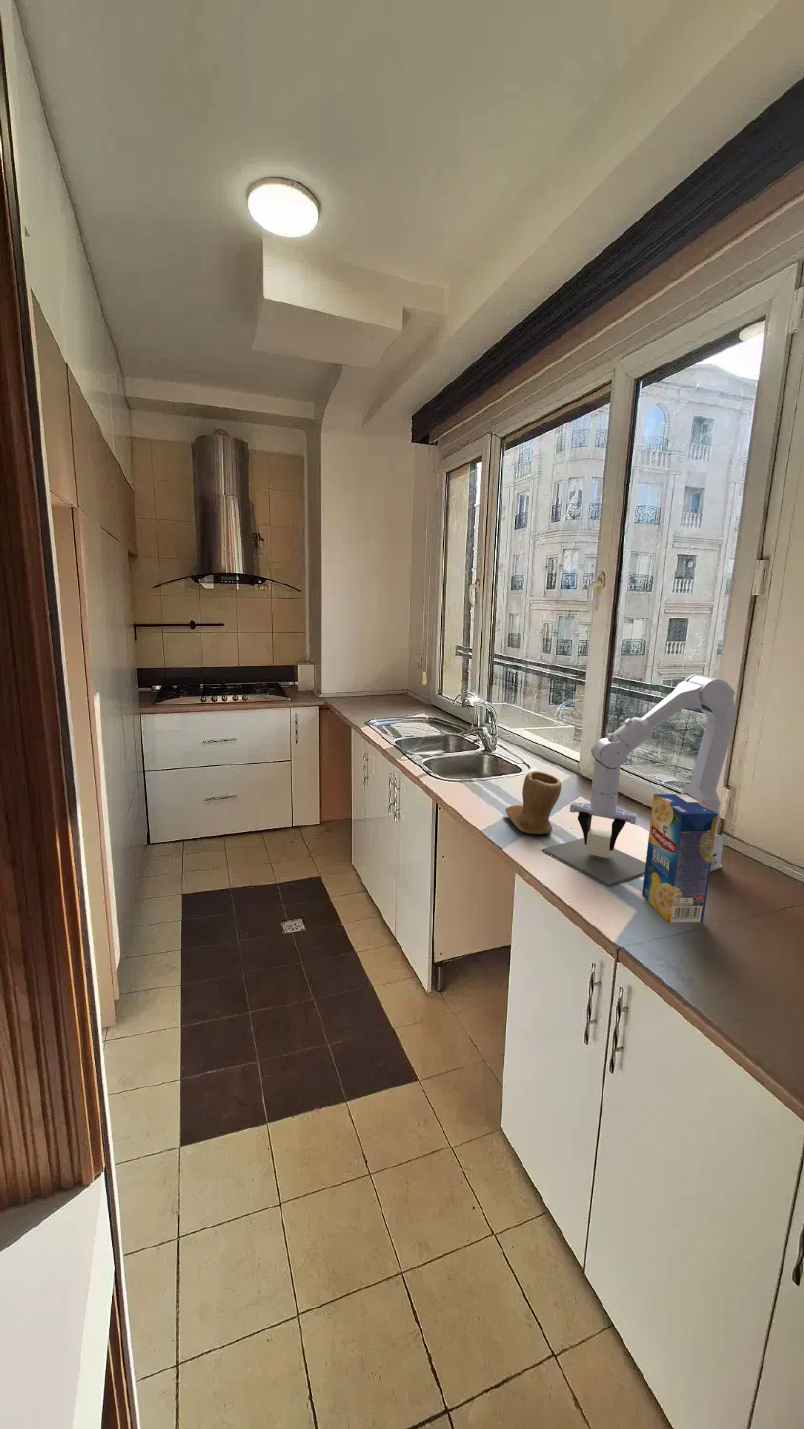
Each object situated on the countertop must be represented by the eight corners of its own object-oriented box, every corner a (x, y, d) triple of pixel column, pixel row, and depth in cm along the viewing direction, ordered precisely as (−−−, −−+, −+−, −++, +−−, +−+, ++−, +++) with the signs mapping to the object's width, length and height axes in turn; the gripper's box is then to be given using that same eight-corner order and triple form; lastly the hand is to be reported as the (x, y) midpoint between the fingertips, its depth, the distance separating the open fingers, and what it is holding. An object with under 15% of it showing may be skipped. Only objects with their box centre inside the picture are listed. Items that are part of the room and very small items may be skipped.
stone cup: (564, 837, 151) (568, 781, 148) (518, 838, 150) (522, 781, 147) (545, 815, 166) (549, 764, 163) (503, 816, 165) (507, 764, 162)
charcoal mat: (656, 870, 134) (657, 867, 134) (609, 886, 126) (609, 883, 126) (588, 838, 151) (588, 836, 150) (542, 851, 142) (542, 848, 142)
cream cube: (611, 850, 139) (613, 830, 138) (607, 858, 135) (610, 837, 134) (590, 845, 141) (592, 826, 140) (585, 853, 137) (587, 833, 136)
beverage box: (673, 893, 123) (686, 794, 119) (703, 922, 113) (718, 813, 108) (641, 894, 123) (653, 794, 118) (668, 922, 112) (682, 813, 108)
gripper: (640, 791, 135) (634, 847, 137) (576, 780, 142) (572, 833, 144) (636, 800, 129) (630, 858, 131) (569, 788, 136) (565, 843, 138)
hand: (599, 846), depth 137 cm, fingers closed on cream cube, 5 cm apart
